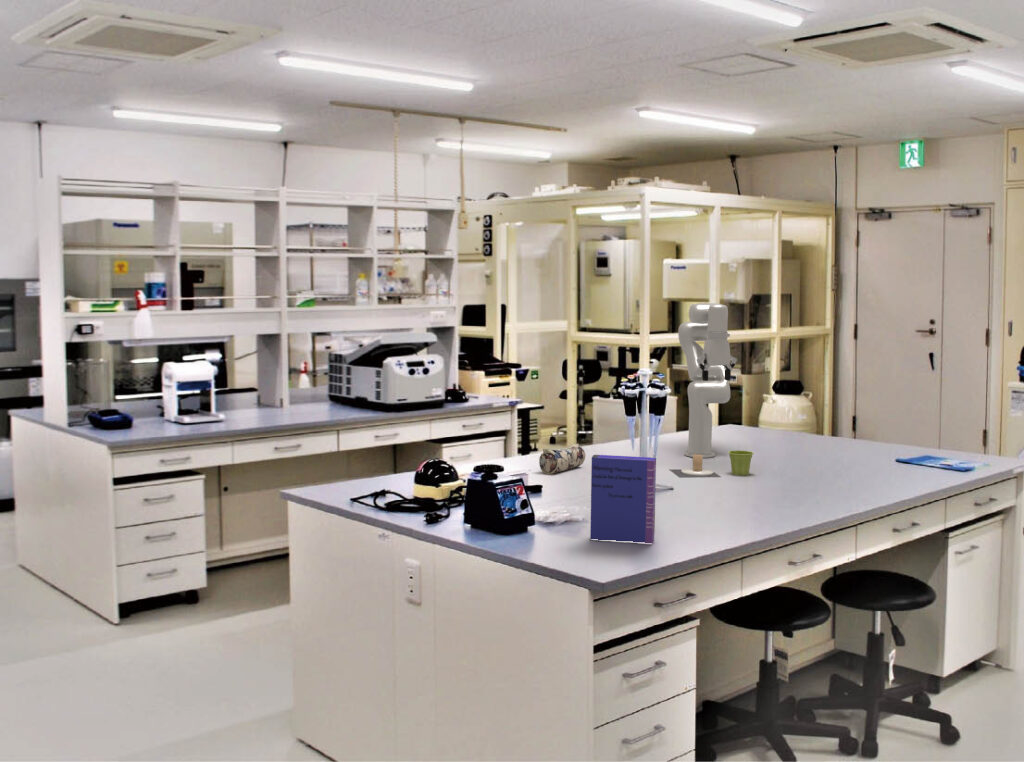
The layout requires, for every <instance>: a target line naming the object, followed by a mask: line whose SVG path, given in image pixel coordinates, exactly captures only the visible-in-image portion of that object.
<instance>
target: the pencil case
mask: <svg viewBox="0 0 1024 762" xmlns="http://www.w3.org/2000/svg"><path fill="white" fill-rule="evenodd" d="M542 451H543V452H542V453H541V454H540V455H539V457H538V458H539V459H538V460H539V461H538V462H539V468H540V470H541V471H542V473H544V474H546V475H552V474H554V475H555V474H557V473H560V472H564V471H568V470H570V469H573V468H577V467H580V466H582V465H584V462H585V459H586V452H585V450H584V448H583V447H582V446H581V445H580V444H579V443H574V444H571V445H569V446H567V447H563V448H560V449H559V448H558V449H552V448H551V449H550V448H543V449H542Z"/></svg>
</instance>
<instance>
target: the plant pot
mask: <svg viewBox="0 0 1024 762" xmlns="http://www.w3.org/2000/svg"><path fill="white" fill-rule="evenodd" d="M727 452H728V455H729V459H730V466H731V474H732V475H734V476H749V473H750V468H751V462H752V457H753V455H754V452H753V451H750V450H749V451H748V450H729V451H727Z"/></svg>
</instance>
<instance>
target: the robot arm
mask: <svg viewBox="0 0 1024 762" xmlns="http://www.w3.org/2000/svg"><path fill="white" fill-rule="evenodd" d="M728 310H729V309H728V306H727V305H725V304H721V303H718V302H716V303H712V302H710V303H709V302H698V303H691V305H690V306H689V309H688V319H689V321H685V322H683V323H681V324H680V325H679V327H678V332H677V333H678V341H679V345H680V348H681V349H682V351H683V353H684V355H685V360H686V367H687V372H688V377H689V379H690V380H691V382H689V384H688V386H687V398H688V412H689V413H688V447H687V448H688V449H687V451H684V453H683V454H684V456H686V457H688V458H693V454H701V455H703V459H706V458H707V459H708V458H713V457H714V458H715V456H716V453H715V452H714V451H712V445H713V444H712V439H713V437H712V435H713V433H712V432H713V413H712V411H711V409H710V408H709V407H708V406H707V404H726V403H728V402H729V401H730V399H731V387H730V381H731V377H732V373H731V372H732V370H733V369H734V367H735V366H736V363H737V362H738V359H737V358H736V357H734V356H732V355H731V348H730V341H729V340H728V338H730V337H731V335H730V333H728V318H729V311H728ZM697 342H704V344H703V347H702V346H701V345H700V344H698V343H697Z"/></svg>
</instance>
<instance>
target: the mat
mask: <svg viewBox="0 0 1024 762" xmlns="http://www.w3.org/2000/svg"><path fill="white" fill-rule="evenodd" d="M682 469H683V468H681V469H677V468H676V469H674V468H673V469H672V468H671V469H668V471H670V472H672V473H673V474H674V475H675V476H677V477H678V478H680V479H681V478H691V479H692V478H693V479H694V478H695V479H696V478H722V476H720V475H719V474H717V473H716V472H715V471H714V472H713V475H710V476H690V475H685V474H682V473H681V470H682Z"/></svg>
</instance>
